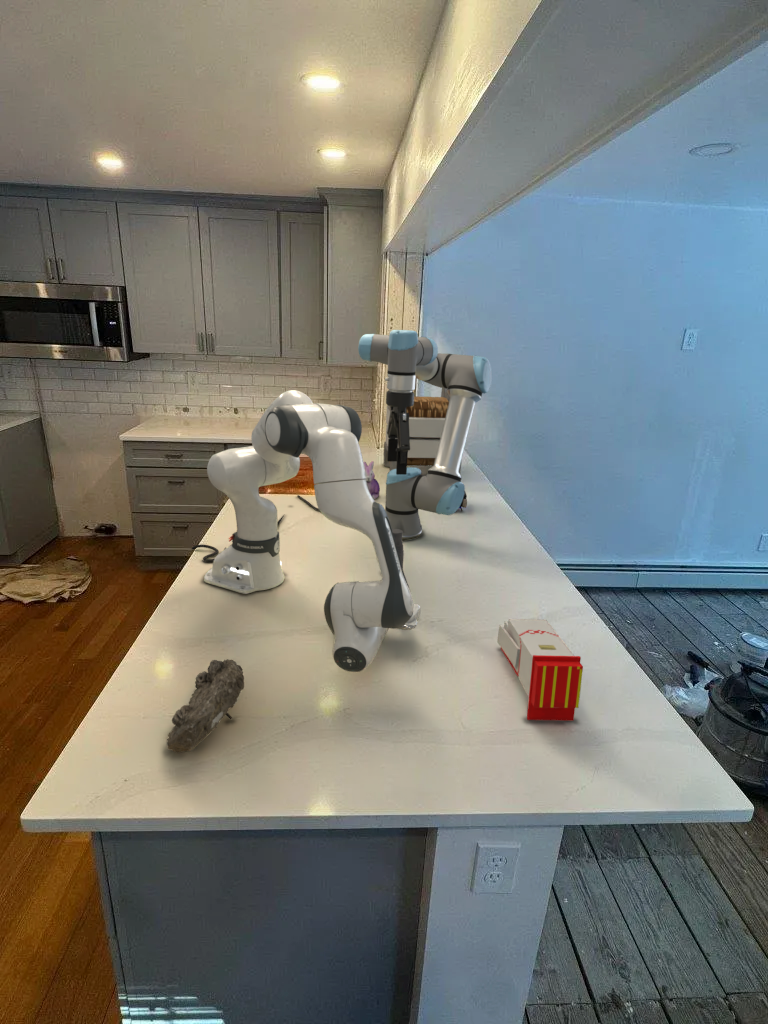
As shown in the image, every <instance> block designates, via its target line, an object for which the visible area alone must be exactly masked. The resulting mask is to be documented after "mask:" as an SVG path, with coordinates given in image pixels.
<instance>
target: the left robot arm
mask: <svg viewBox="0 0 768 1024" xmlns="http://www.w3.org/2000/svg"><path fill="white" fill-rule="evenodd" d="M362 428H363V426H362V421H361V418H360V415H359V413H358V411H356V410H355V409H354V408H352V407H350V406H346V405H344V404H331V403H330V404H328V403H319V402H317V403H313V400H312V399H311V397H309V396H308V395H307V394H305V393H304V392H303V391H299V390H297V389H291V390H286V391H284V392H282V393H281V394H280V395H279V396H277V397H276V398H275V399H274V400H273V401H272V402H271V403H270V404H269V405H268V406H267V408H266V409H265V410H264V412H263V414H262V415H261V417H260V419H259V420H258V422H257V423H256V424H255V427H253V430H252V432H251V445H249V446H242V447H241V446H240V447H235V448H228V449H224V450H223V451H220V452H217V453H214V454H212V455H211V457H210V458H209V460H208V463H207V466H206V473H207V477H208V480H209V481H210V484H211V485H212V486H213V487H214V488H215V489H216V490H218V491H220V492H221V493H223V494H224V495H226V496H227V498H228V499H229V500H230V502H231V503H232V506H233V509H234V513H235V521H236V531H235V532H233V533H232V534H231V536H229V537H228V542H232V543H231V544H230V545H228V546H227V547H224V548H223V550H221V551H220V552H219V549H218V548H217V547H214V546H212V545H209V544H196V545H194V546H192V548H191V550H192V551H193V550H196V549H199V548H204V549H209V550H212V551H214V552H212V553H209V554H206V555H204V556H203V557H202V561H204V563H205V562H206V563H212V566H211V568H209V569H208V571H207V572H206V573H205V574H204V577H203V582H204V583H205V584H206V583H207V584H210V585H212V586H215V587H219V588H223V589H226V590H230V591H233V592H236V593H239V594H243V595H248V594H250V593H254V592H258V591H259V592H260V591H264V590H265V591H266V590H269V589H273V588H276V587H278V586H280V585H281V584H282V583H283V582H284V581H285V574H284V571H283V567H282V565H283V564H282V563H283V562H282V561H281V557H280V549H281V540H280V539H281V538H280V532H279V526H278V508H277V505H276V504H275V503H274V502H273V501H272V500H270V499H269V498H267V497H263V496H261V495H260V493H259V489H260V487H266V486H270V485H277V484H280V483H281V484H282V483H284V482H286V481H289V480H291V479H293V478H295V477H296V476H298V473H299V471H300V468H301V458H300V456H301V455H305V456H307V457H308V458H309V459H310V461H311V464H312V478H313V479H312V480H313V484H314V485H313V488H314V497H315V503H316V506H317V508H318V509H319V510H320V511H319V512H320V513H321V515H323V516H324V518H326V519H327V520H329V521H331V522H332V523H334V524H337V525H338V526H342V527H345V528H349V529H352V530H356V531H358V532H359V533H361V534H364V535H365V536H366V537H367V538H368V539H369V540H370V542H371V543H372V545H373V550H374V553H375V556H376V560H377V564H378V567H379V572H380V575H381V579H380V580H367V581H359V580H358V581H357V580H356V581H343V582H342V581H341V582H336V583H335V584H334V585H333V586H332V587H331V588H330V589H329V592H328V593H327V595H326V597H325V600H324V604H323V613H324V619H325V622H326V624H327V627H328V628H329V630H330V632H331V633H332V634H333V636H334V643H333V648H332V659H333V661H334V663H335V664H336V665H337V666H338V667H339V669H341V670H343V671H345V672H348V673H349V672H350V673H359V672H362V671H364V670H366V669H367V668H368V667H369V666H370V665H371V664H372V663H373V661H374V660H375V658H376V656H377V654H378V652H379V650H380V648H381V644H382V643H383V641H384V639H385V638H386V635H387V633H388V631H389V629H393V630H402V631H410V630H412V629H416V628H417V626H418V622H419V620H420V617H421V606H420V605H419V604H418V603H415V602H414V598H413V595H412V591H411V589H410V585H409V583H408V580H407V578H406V575H405V571H404V567H403V568H402V564H401V561H400V557H399V553H398V550H397V546H396V542H395V539H394V535H393V532H392V528H391V525H390V522H389V519H388V516H387V513H386V511H385V507H384V506H383V505H382V504H381V503H379V502H378V501H375V499H373V498H372V496H371V494H370V492H369V490H368V487H367V482H366V480H364V479H366V474H365V467H364V462H365V461H364V458H363V453H362V450H361V446H360V443H359V442H360V440H361V437H362V432H363V429H362ZM214 556H215V557H214ZM212 557H214V558H212Z"/></svg>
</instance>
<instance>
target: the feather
mask: <svg viewBox="0 0 768 1024" xmlns="http://www.w3.org/2000/svg"><path fill="white" fill-rule="evenodd" d="M285 515H286V514H283V515H282V516H281V518H279V519H278V520H277V522H278V527H279V526H280V524H281V522H282V520H283V519H284V516H285Z"/></svg>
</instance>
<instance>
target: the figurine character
mask: <svg viewBox="0 0 768 1024" xmlns="http://www.w3.org/2000/svg"><path fill="white" fill-rule="evenodd" d="M467 495H468V494H467V493H466V489H465V490H464V497H463V500H462V503H461V505H460V507H459V508H458V510H460V512H463V509H464V508H465V509H466V508H467V506H468V499H467V497H468V496H467Z"/></svg>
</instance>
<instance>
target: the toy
mask: <svg viewBox="0 0 768 1024" xmlns="http://www.w3.org/2000/svg"><path fill="white" fill-rule="evenodd" d="M498 626H499V627H498V634H497V644H498V646H500V650H501V652H502V653H503V655H504V657H505V658H506V661H508V663H509V665H510V667H511V668H512V670H513V671H514V673H515V675H516V677H518V680H519V682H520V684H521V686H522V687H523V690H524V692H525V693H526V695H527V697H528V702H527V703H528V704H527V712H526V720H527V721H562V722H563V721H567V722H568V721H570V722H572V721H574V719H575V714H576V713H575V712H576V709H578V708H579V705H580V697H581V687H582V680H583V672H584V671H583V670H584V666H583V664H582V663H581V656H580V655H575V654H574V653H573V651H572V650H571V649H570V648H569V647H568V646H567V644H566V643H565V642H564V640H563V639H562V638H561V636H560V635H559V634H558V633H557V631H556V630H555V629H554V627H553V626H552V625H551V624H550V623H549V621H548V620H547V619H539V618H538V619H534V618H533V619H532V618H508V621H504V623H503V624H499V625H498Z"/></svg>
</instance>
